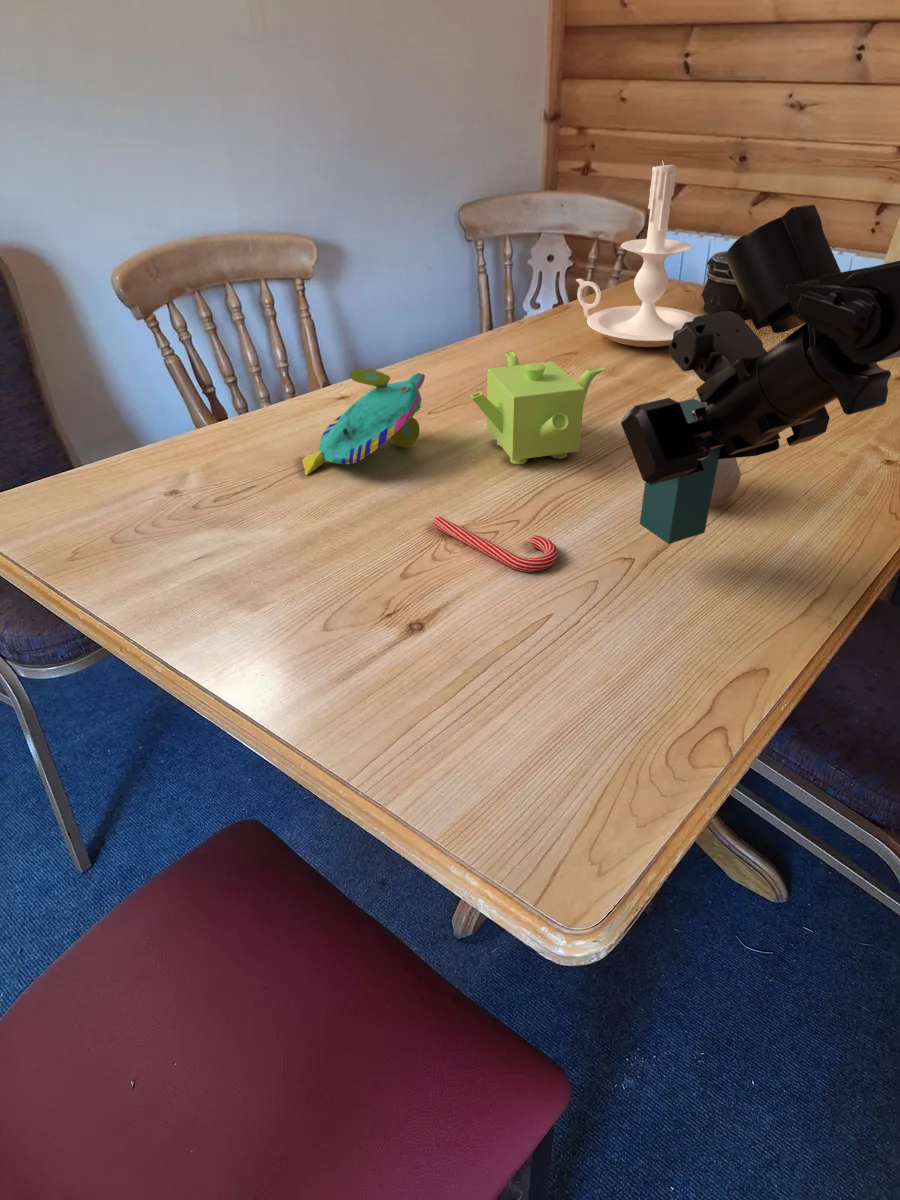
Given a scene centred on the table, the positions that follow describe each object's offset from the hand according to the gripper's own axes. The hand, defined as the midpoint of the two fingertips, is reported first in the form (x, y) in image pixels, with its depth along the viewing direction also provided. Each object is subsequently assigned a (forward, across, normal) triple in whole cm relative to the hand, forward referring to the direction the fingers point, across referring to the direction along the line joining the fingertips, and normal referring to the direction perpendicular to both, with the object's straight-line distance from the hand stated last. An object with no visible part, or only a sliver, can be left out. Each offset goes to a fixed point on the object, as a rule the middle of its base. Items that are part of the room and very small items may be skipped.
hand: (672, 461), depth 73 cm
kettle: (+30, -4, -13) cm, 33 cm away
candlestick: (+51, -44, -35) cm, 76 cm away
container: (+54, -70, -37) cm, 96 cm away
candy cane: (+16, +13, 0) cm, 21 cm away
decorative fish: (+35, +16, -19) cm, 43 cm away
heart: (+15, -12, +2) cm, 19 cm away
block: (+4, 0, +6) cm, 7 cm away
